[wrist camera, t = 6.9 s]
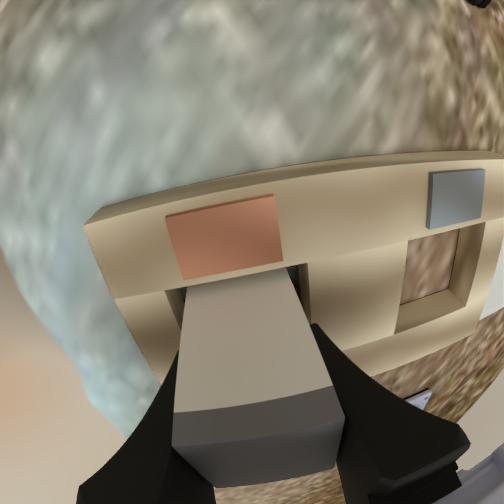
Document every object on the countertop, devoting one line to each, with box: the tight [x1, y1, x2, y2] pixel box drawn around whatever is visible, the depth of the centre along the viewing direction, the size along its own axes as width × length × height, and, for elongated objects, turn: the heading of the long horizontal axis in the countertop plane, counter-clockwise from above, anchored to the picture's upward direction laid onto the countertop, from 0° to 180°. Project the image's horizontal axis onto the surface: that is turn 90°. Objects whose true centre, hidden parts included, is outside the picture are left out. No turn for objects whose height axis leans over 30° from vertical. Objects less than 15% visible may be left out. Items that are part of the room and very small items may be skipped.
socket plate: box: [83, 151, 504, 385], centre depth 13 cm, size 12×20×2 cm, turn 99°
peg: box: [172, 267, 345, 488], centre depth 9 cm, size 4×4×7 cm
